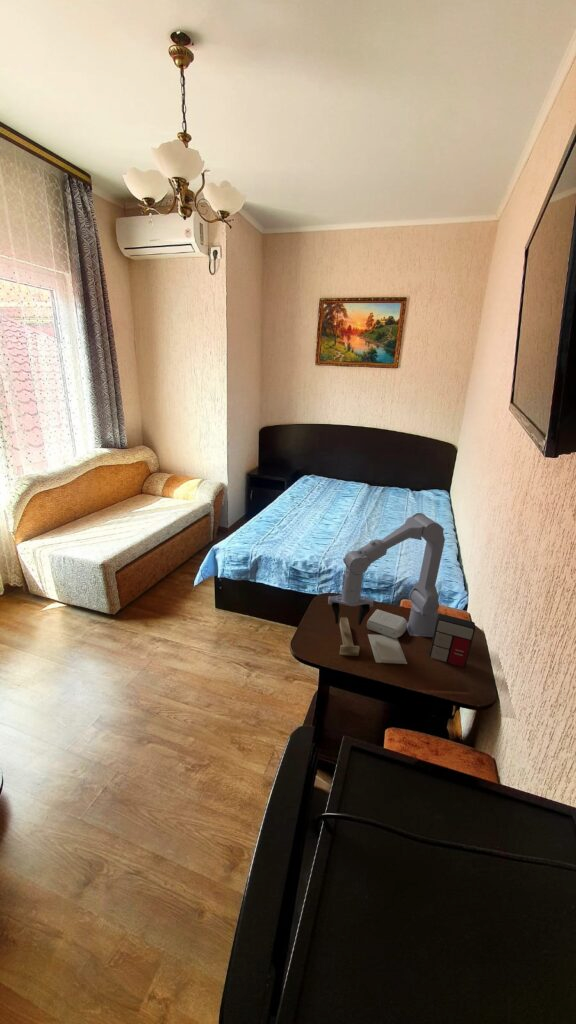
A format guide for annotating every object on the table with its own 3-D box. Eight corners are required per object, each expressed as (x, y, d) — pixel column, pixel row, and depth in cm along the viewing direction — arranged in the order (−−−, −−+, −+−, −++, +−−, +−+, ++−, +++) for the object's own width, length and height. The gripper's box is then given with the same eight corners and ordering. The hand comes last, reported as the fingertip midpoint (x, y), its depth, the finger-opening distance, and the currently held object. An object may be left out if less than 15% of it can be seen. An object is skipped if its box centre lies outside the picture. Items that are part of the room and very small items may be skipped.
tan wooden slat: (351, 627, 145) (352, 617, 143) (358, 657, 130) (359, 647, 128) (334, 626, 144) (335, 617, 143) (339, 656, 130) (340, 646, 128)
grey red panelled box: (428, 659, 131) (437, 620, 126) (429, 651, 135) (438, 612, 130) (465, 669, 128) (475, 629, 122) (464, 661, 131) (475, 622, 126)
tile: (396, 641, 135) (403, 660, 127) (395, 645, 136) (402, 664, 127) (375, 640, 135) (381, 659, 126) (374, 644, 135) (380, 663, 127)
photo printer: (365, 630, 143) (400, 642, 137) (367, 619, 142) (402, 631, 136) (375, 617, 152) (408, 627, 146) (376, 607, 150) (410, 617, 144)
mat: (395, 637, 141) (396, 635, 141) (407, 665, 128) (407, 663, 127) (367, 635, 141) (367, 634, 140) (375, 663, 127) (375, 662, 127)
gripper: (372, 581, 135) (367, 616, 140) (328, 579, 135) (325, 614, 139) (376, 593, 128) (371, 629, 133) (331, 591, 128) (327, 627, 133)
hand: (347, 622), depth 136 cm, fingers open, 7 cm apart
